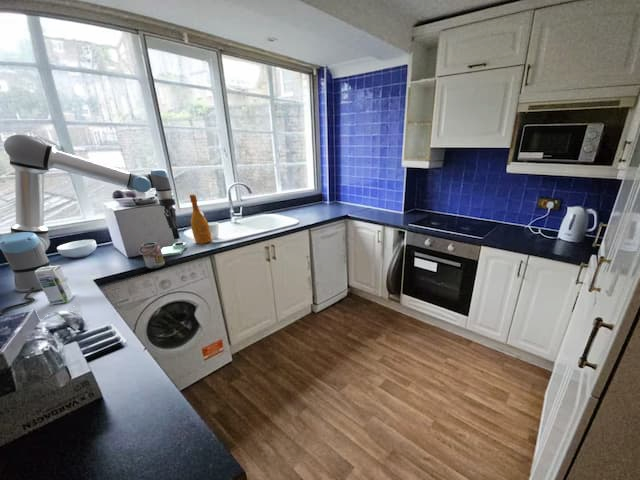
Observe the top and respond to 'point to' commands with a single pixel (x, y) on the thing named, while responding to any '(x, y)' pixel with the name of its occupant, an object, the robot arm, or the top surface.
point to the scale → (173, 250)
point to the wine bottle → (199, 224)
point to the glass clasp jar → (152, 255)
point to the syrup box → (54, 284)
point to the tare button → (178, 243)
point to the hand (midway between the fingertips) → (177, 238)
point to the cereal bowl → (77, 248)
